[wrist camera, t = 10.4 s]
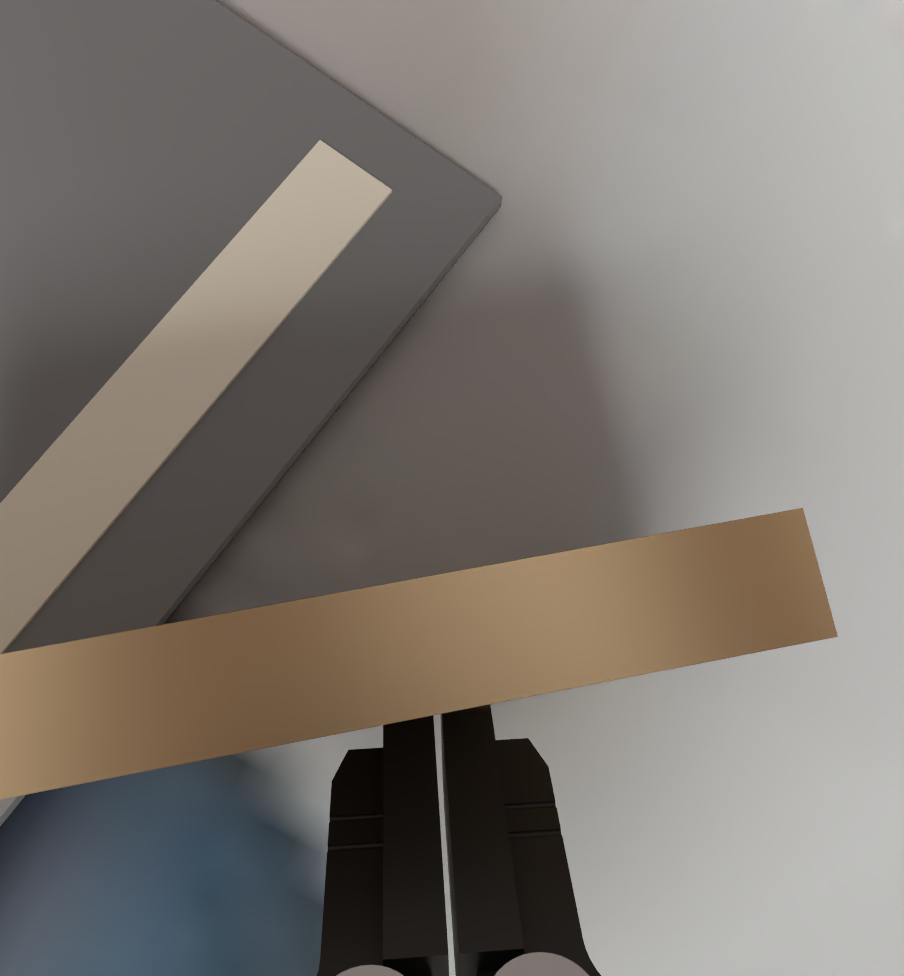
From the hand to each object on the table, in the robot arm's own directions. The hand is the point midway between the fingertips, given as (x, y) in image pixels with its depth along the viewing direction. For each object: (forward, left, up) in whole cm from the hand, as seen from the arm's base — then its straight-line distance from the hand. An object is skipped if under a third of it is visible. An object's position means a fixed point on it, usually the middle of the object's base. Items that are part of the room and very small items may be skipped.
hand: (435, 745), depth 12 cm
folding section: (-3, 0, -4) cm, 4 cm away
